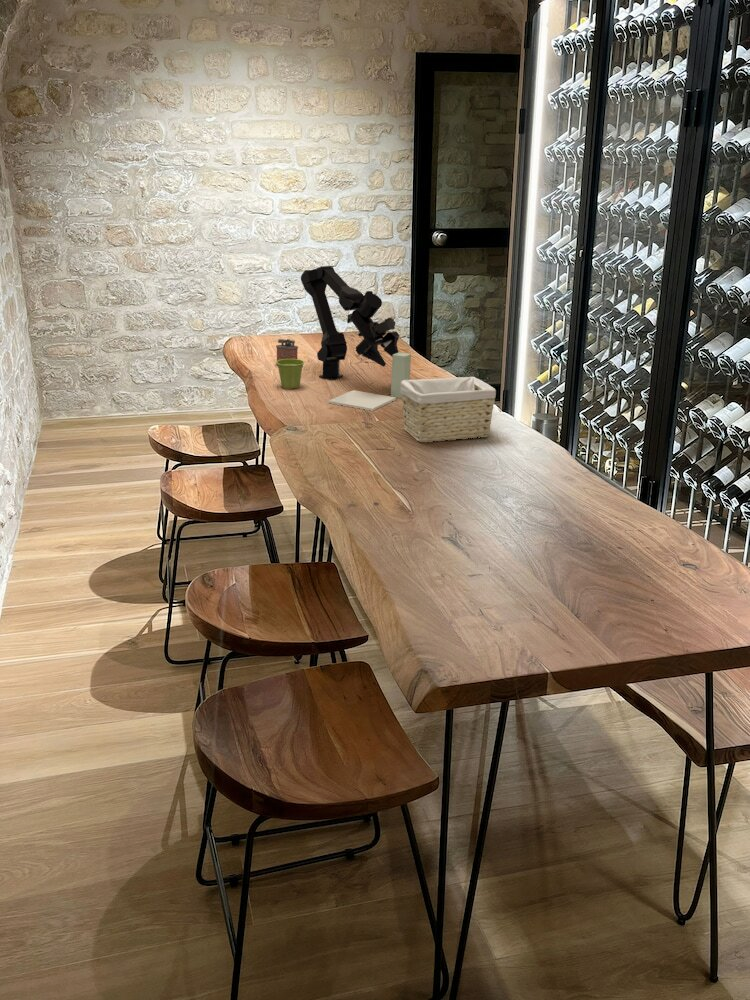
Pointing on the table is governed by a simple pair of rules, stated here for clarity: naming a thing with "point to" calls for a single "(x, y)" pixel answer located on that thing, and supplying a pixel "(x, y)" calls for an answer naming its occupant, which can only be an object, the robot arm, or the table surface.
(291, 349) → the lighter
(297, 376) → the plant pot
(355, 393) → the tile
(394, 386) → the block
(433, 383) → the storage basket
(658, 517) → the table surface
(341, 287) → the robot arm
